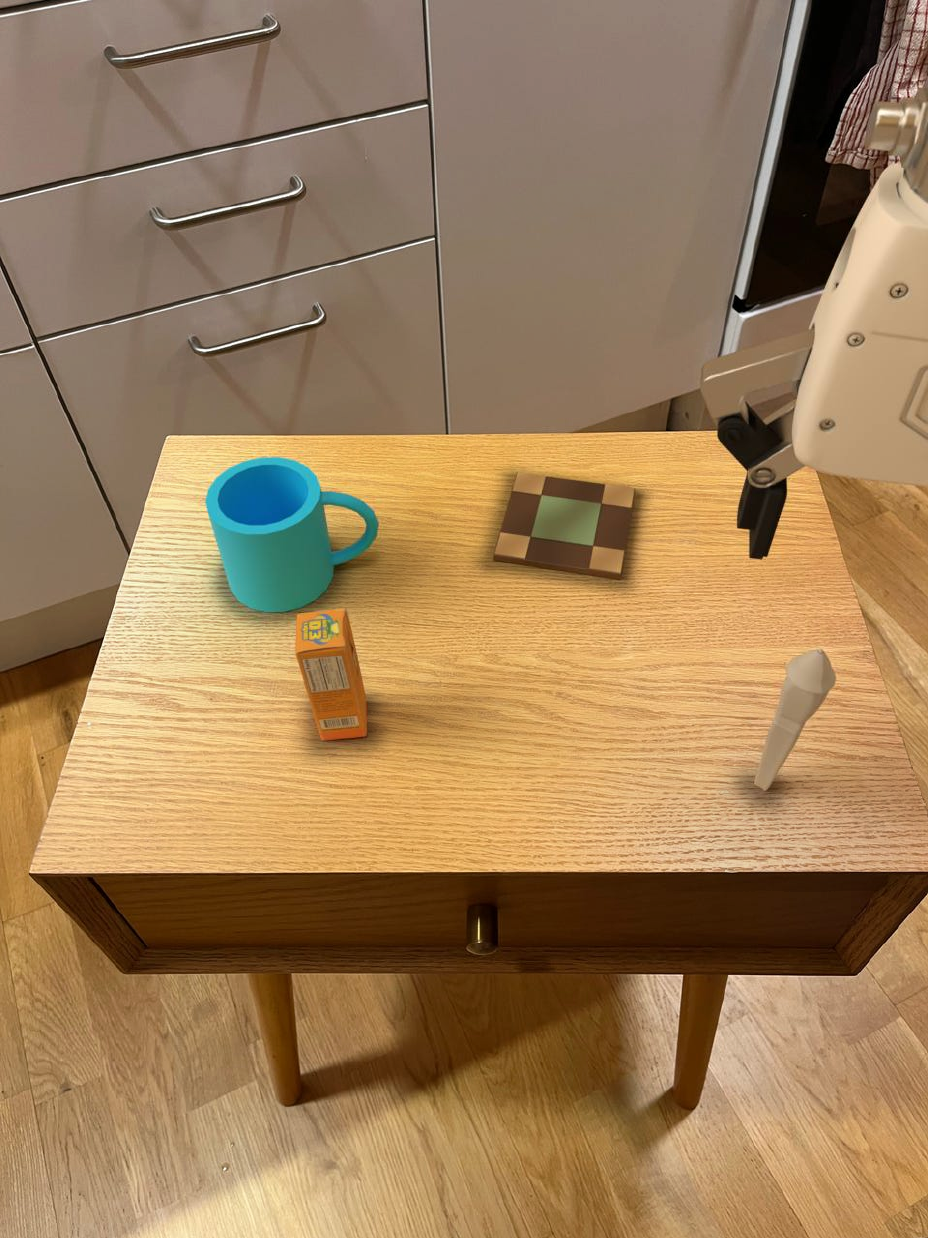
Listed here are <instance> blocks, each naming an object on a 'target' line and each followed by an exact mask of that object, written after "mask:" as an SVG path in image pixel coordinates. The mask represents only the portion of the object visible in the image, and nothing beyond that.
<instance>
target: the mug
mask: <svg viewBox="0 0 928 1238" xmlns="http://www.w3.org/2000/svg"><path fill="white" fill-rule="evenodd" d="M204 503H205V506H206V507H205V508H206V511H207V514H208V518H209V522H210V524H211V528H212V532H213V535H214V538H215V542H216V545H217V548H218V549H217V550H218V552H219V556H220V559H221V562H222V566H223V569H224V573H225V576H226V579H227V582H228V585H229V590H230V592H231V593H232V594H233V596H234V597H235V598H236V600H237V601H238V602H240V603H241V604H243V605H244V606H246V607H248V608H249V609H252V610H256V611H259V612H264V613H285V612H289V611H294V610H298V609H301V608H303V607H305V606H307V605H309V604H311V603H313V602H314V601H316V600H317V599H319V598H320V596H321V595H323V594H324V593H325V592H326V591H327V590H328V588H329V586H330V584H331V582H332V581H333V579H334V571H335V566H337V565H340V564H344V563H346V562H348V561H352V560H353V559H355V558H357V557H359V556H361V554H363V553H364V552H365V551H367V550H369V549H370V547H371V546H372V544H373V543H374V541H375V540H376V539H377V537H378V532H379V525H380V523H379V520H378V517H377V515H376V513H375V510H374V509H373V508H372V507H370V505H368V503H366V502H365V501H364V500H362V499H361V498H357V497H356V496H353V495H351V494H348V493H343V492H337V491H332V490H324V491H323V490H322V487H321V485H320V482H319V478H318V476H317V474H315V473H314V472H313V470H311V468H309V466H307V465H305V464H303V463H301V462H299V461H297V460H294V459H291V458H285V457H281V456H271V457H270V456H268V457H267V456H265V457H258V458H252V459H248V460H243V461H242V462H239V463H237V464H235V465H233V466H231V467H229V468H227V469H226V470H224V471H223V472H222V473H220V474H219V475H218V476H216V478H215V479H214V481H213V482H212V483H211V485H210V486H209V487H208V488H207V492H206V496H205V500H204ZM325 506H335V507H340V508H344V509H348V510H350V511H352V512H355V513H357V514H358V516H360V517H361V518H362V519H363V520H364V522H365V531H364V532H363V533H362V535H361V536H360V538H359V539H357V540H356V541H355V542H352V544H350V545H348V546H346V547H344V548H342V549H339V550H335V551H332V547H331V540H330V534H329V527H328V522H327V516H326V510H325Z"/></svg>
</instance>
